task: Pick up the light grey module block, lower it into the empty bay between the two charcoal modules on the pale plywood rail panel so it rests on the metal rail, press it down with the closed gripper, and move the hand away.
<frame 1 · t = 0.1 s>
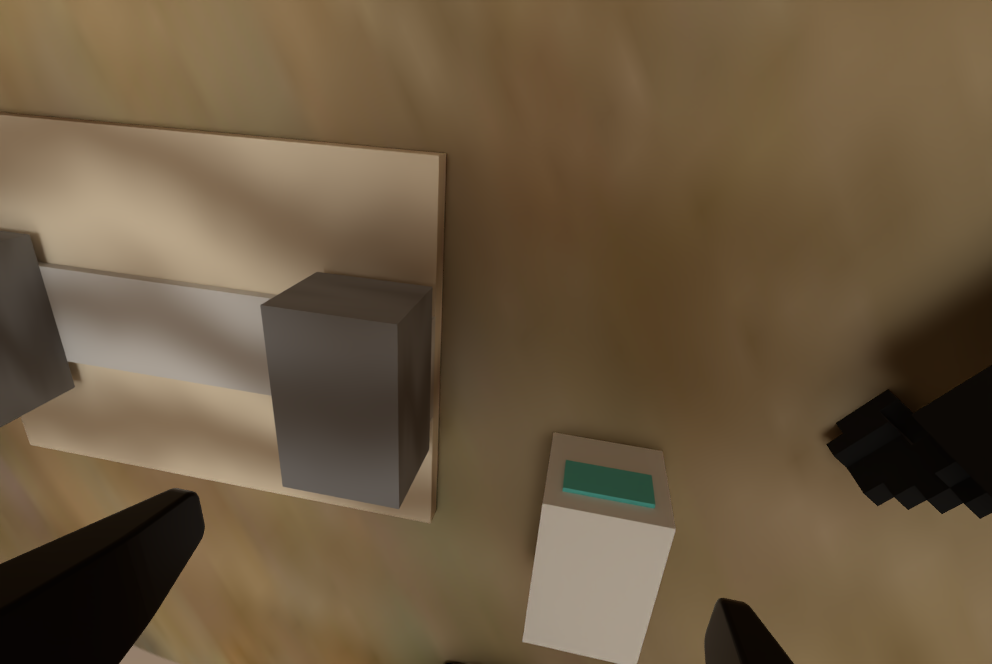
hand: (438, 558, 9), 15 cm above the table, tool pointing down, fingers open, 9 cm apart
rail panel: (205, 323, 26), on the table
module block: (594, 506, 26), on the table
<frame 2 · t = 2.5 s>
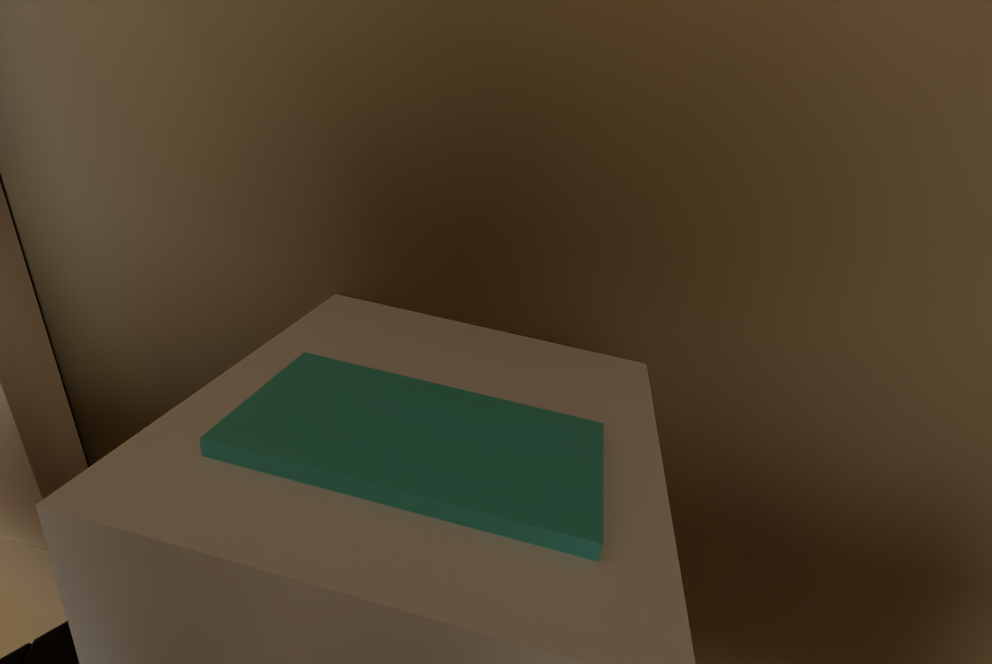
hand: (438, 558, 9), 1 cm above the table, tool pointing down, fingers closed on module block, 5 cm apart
module block: (455, 517, 10), on the table, touching gripper
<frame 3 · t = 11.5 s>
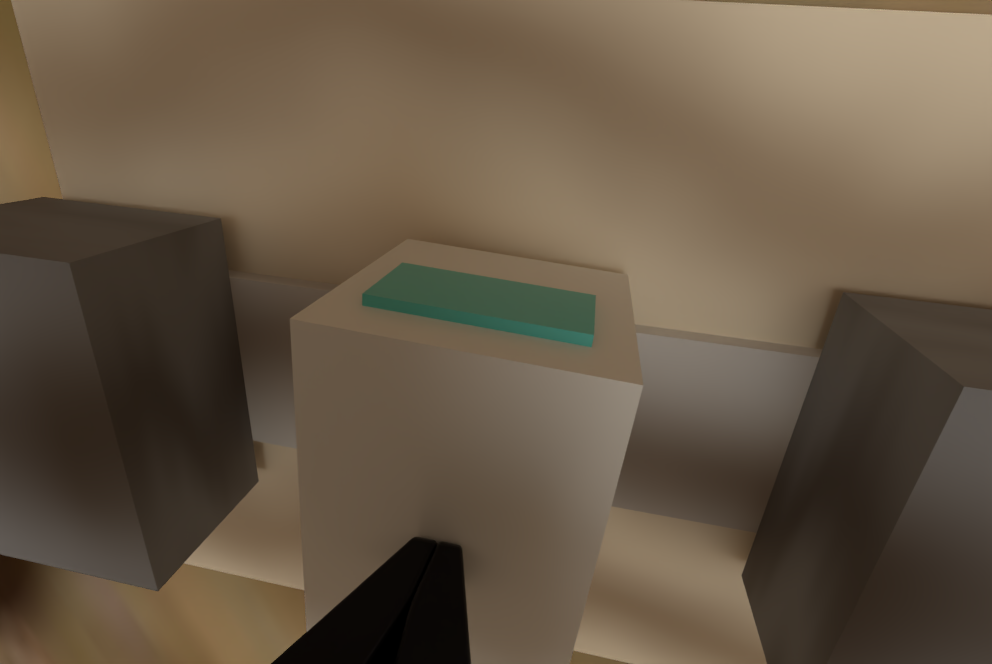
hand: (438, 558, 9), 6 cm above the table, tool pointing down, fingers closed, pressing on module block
rail panel: (503, 377, 15), on the table
module block: (494, 407, 13), point 1 cm above the table, touching gripper, rail panel
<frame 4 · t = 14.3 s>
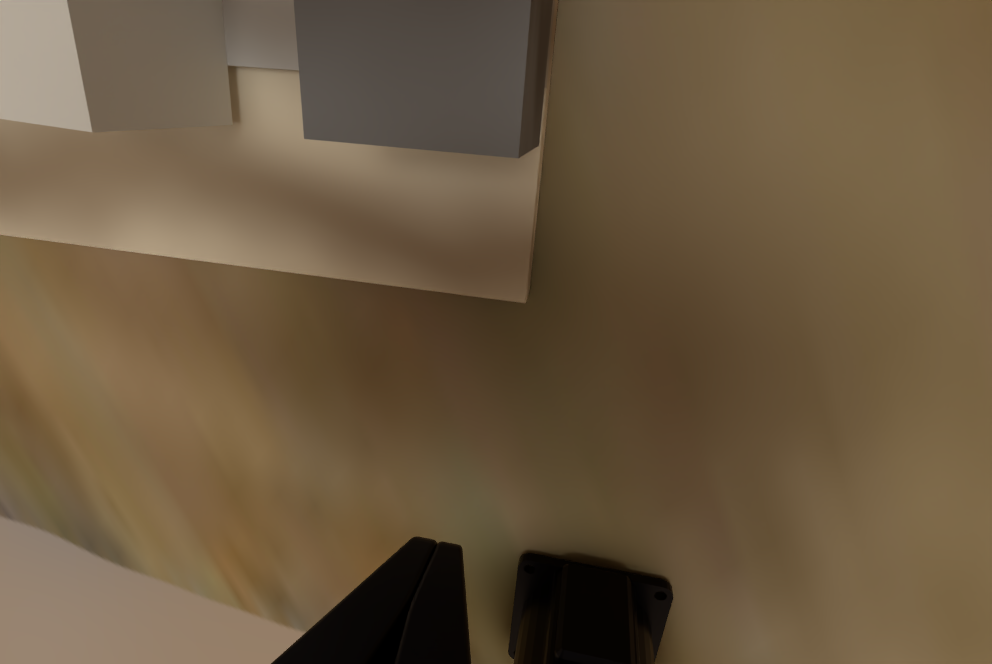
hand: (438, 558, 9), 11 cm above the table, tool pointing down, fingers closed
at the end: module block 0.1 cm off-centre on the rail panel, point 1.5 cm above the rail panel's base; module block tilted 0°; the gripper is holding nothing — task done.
